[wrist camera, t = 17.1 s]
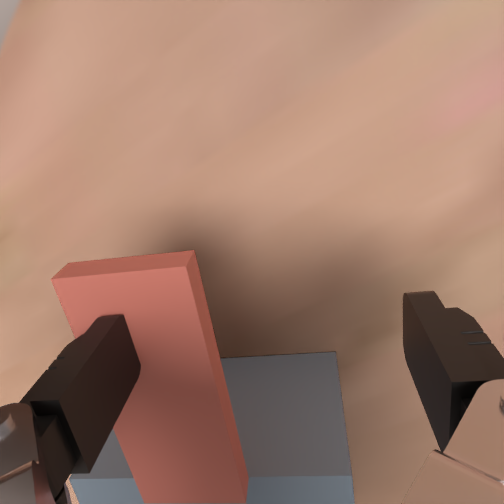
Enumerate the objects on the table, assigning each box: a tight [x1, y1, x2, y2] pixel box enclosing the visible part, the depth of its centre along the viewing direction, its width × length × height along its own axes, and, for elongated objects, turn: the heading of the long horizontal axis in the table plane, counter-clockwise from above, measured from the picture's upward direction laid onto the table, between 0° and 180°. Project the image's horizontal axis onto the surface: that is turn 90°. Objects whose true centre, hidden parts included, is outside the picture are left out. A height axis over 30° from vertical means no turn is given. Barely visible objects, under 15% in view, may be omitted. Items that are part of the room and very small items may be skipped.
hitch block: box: [69, 352, 355, 504], centre depth 23 cm, size 12×12×8 cm
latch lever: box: [51, 250, 249, 503], centre depth 14 cm, size 10×4×1 cm, turn 9°
